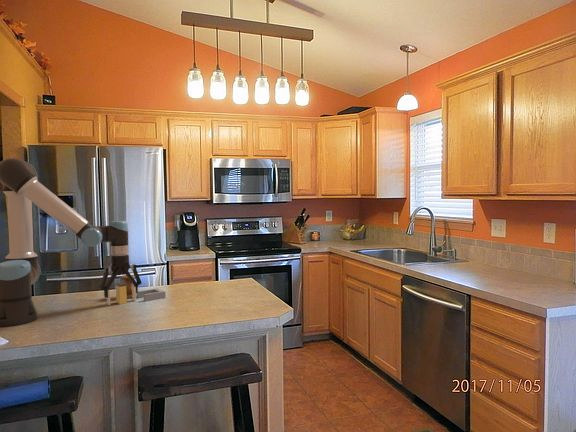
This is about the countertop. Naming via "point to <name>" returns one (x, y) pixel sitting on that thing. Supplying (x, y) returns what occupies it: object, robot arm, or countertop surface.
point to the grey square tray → (151, 294)
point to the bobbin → (128, 285)
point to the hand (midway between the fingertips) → (121, 302)
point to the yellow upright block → (121, 293)
